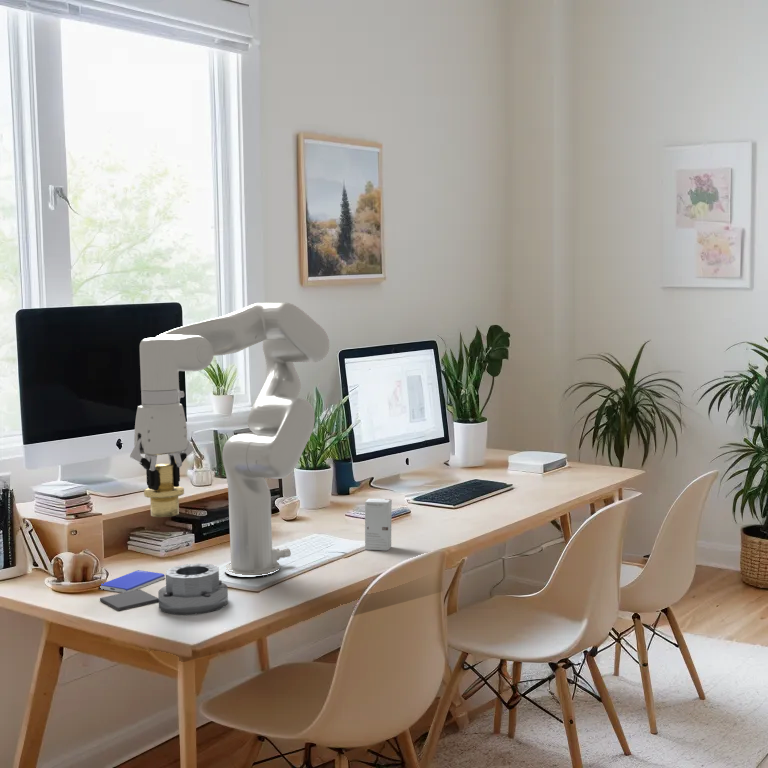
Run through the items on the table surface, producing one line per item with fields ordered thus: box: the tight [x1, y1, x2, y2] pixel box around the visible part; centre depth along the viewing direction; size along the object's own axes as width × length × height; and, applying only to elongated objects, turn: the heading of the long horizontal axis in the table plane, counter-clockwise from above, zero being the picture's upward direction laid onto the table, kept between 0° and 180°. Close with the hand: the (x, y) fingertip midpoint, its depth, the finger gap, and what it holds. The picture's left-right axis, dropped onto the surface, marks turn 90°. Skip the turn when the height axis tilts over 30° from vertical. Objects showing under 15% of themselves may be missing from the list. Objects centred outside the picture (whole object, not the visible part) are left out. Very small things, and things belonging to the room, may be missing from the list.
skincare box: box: [364, 497, 393, 552], centre depth 250 cm, size 6×4×12 cm
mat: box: [99, 588, 159, 611], centre depth 211 cm, size 9×9×1 cm
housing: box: [157, 563, 229, 616], centre depth 208 cm, size 14×14×7 cm
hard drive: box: [100, 569, 166, 593], centre depth 224 cm, size 2×8×12 cm
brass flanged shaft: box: [143, 463, 185, 518], centre depth 207 cm, size 8×8×10 cm
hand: (163, 486), depth 207 cm, fingers closed on brass flanged shaft, 4 cm apart
